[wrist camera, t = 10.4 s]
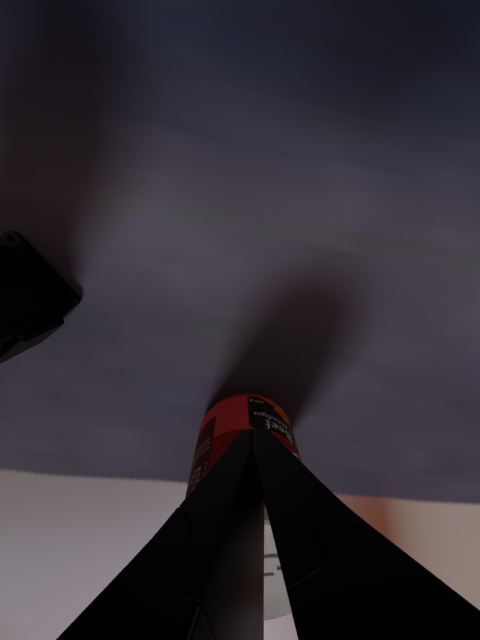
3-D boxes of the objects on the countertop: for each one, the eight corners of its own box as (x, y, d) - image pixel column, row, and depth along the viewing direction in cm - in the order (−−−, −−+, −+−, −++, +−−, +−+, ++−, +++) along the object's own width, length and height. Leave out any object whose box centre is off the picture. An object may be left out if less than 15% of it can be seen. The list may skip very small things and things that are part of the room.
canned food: (303, 442, 24) (352, 597, 14) (225, 473, 25) (215, 640, 15) (268, 375, 22) (294, 496, 12) (185, 411, 23) (141, 553, 13)
